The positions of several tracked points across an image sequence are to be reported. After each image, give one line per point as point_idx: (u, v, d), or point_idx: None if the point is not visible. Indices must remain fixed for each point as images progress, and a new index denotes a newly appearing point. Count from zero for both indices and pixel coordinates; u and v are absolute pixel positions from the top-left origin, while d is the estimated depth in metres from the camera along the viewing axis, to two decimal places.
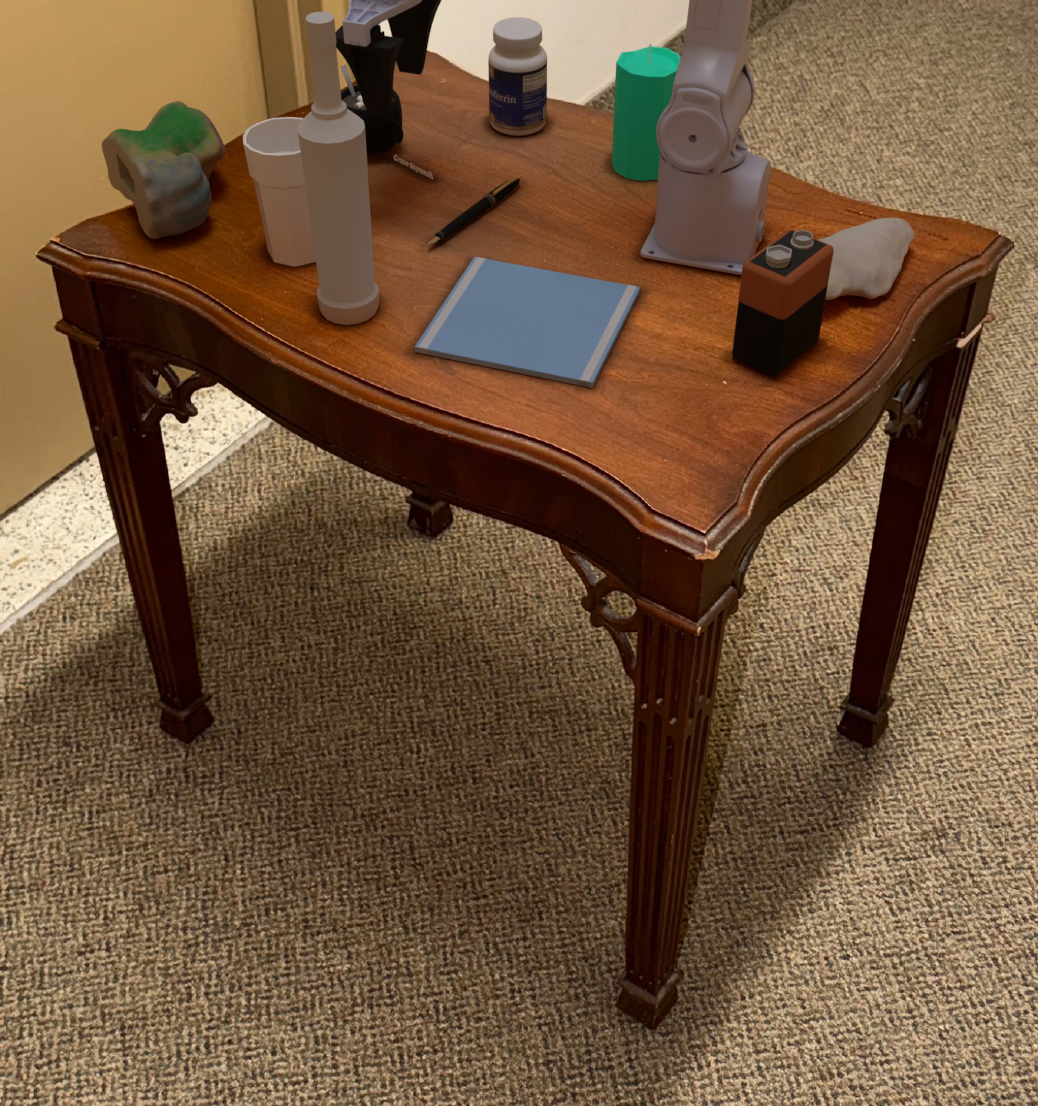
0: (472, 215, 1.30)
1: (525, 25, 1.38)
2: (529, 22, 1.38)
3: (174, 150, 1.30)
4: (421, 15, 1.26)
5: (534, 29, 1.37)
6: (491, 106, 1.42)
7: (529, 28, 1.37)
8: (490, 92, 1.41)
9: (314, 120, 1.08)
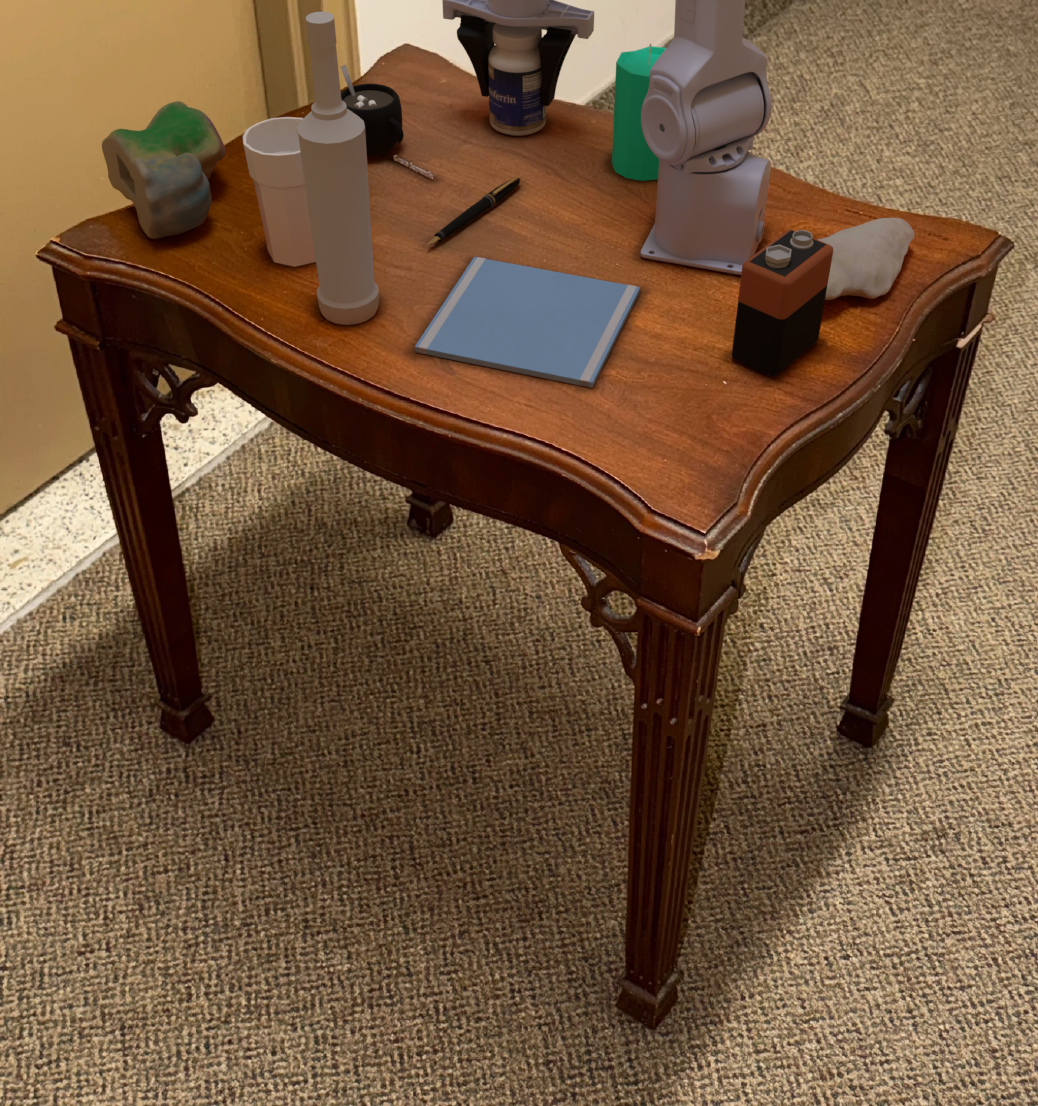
0: (472, 215, 1.30)
1: None
2: None
3: (174, 150, 1.30)
4: None
5: (534, 29, 1.37)
6: (491, 106, 1.42)
7: (529, 28, 1.37)
8: (490, 92, 1.41)
9: (314, 120, 1.08)
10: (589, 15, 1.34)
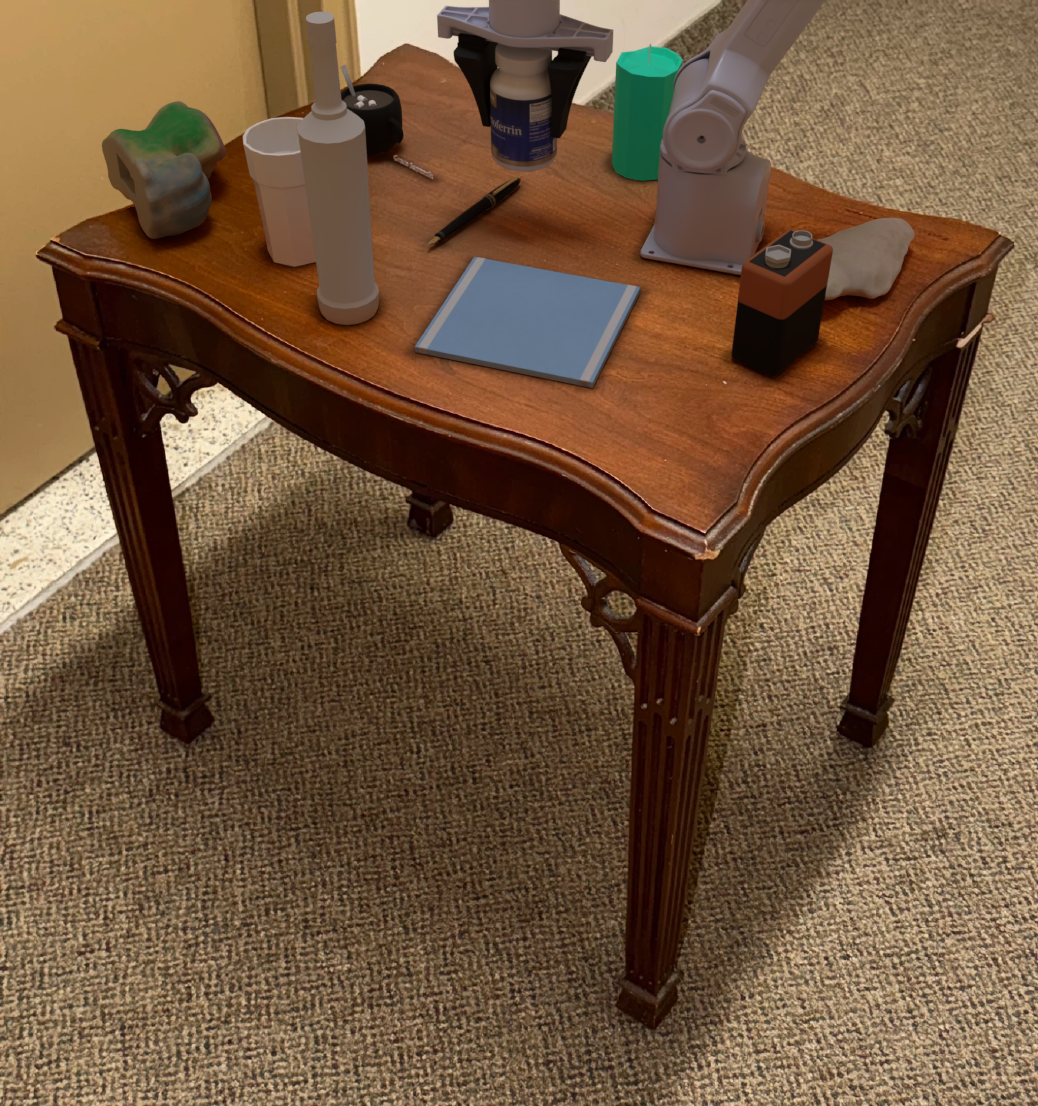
0: (472, 215, 1.30)
1: None
2: None
3: (174, 150, 1.30)
4: None
5: (543, 50, 1.18)
6: (493, 138, 1.23)
7: (537, 49, 1.18)
8: (492, 122, 1.22)
9: (314, 120, 1.08)
10: (607, 34, 1.15)
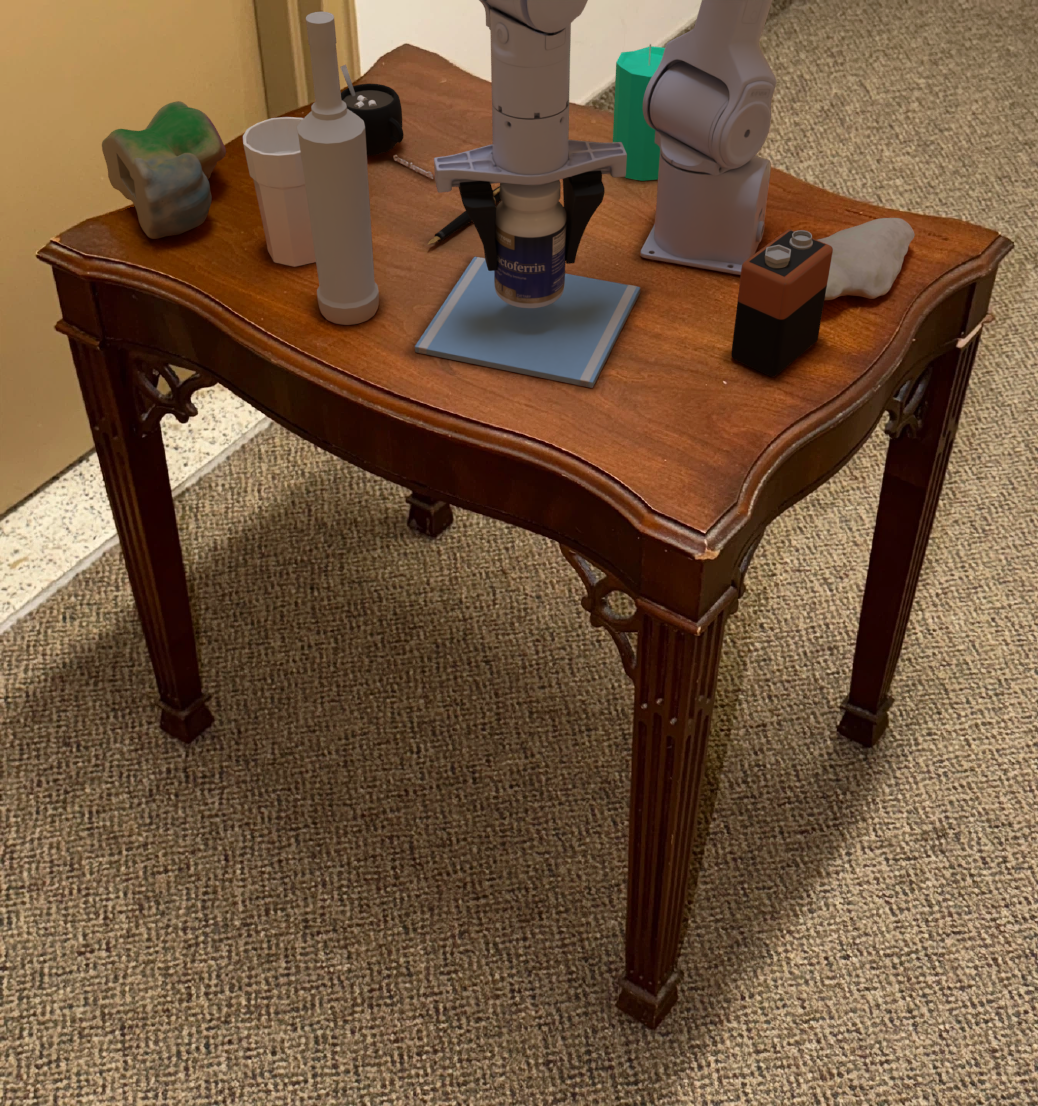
0: None
1: None
2: None
3: (174, 150, 1.30)
4: (571, 205, 1.11)
5: None
6: (507, 280, 1.14)
7: None
8: (505, 265, 1.13)
9: (314, 120, 1.08)
10: (622, 148, 1.10)
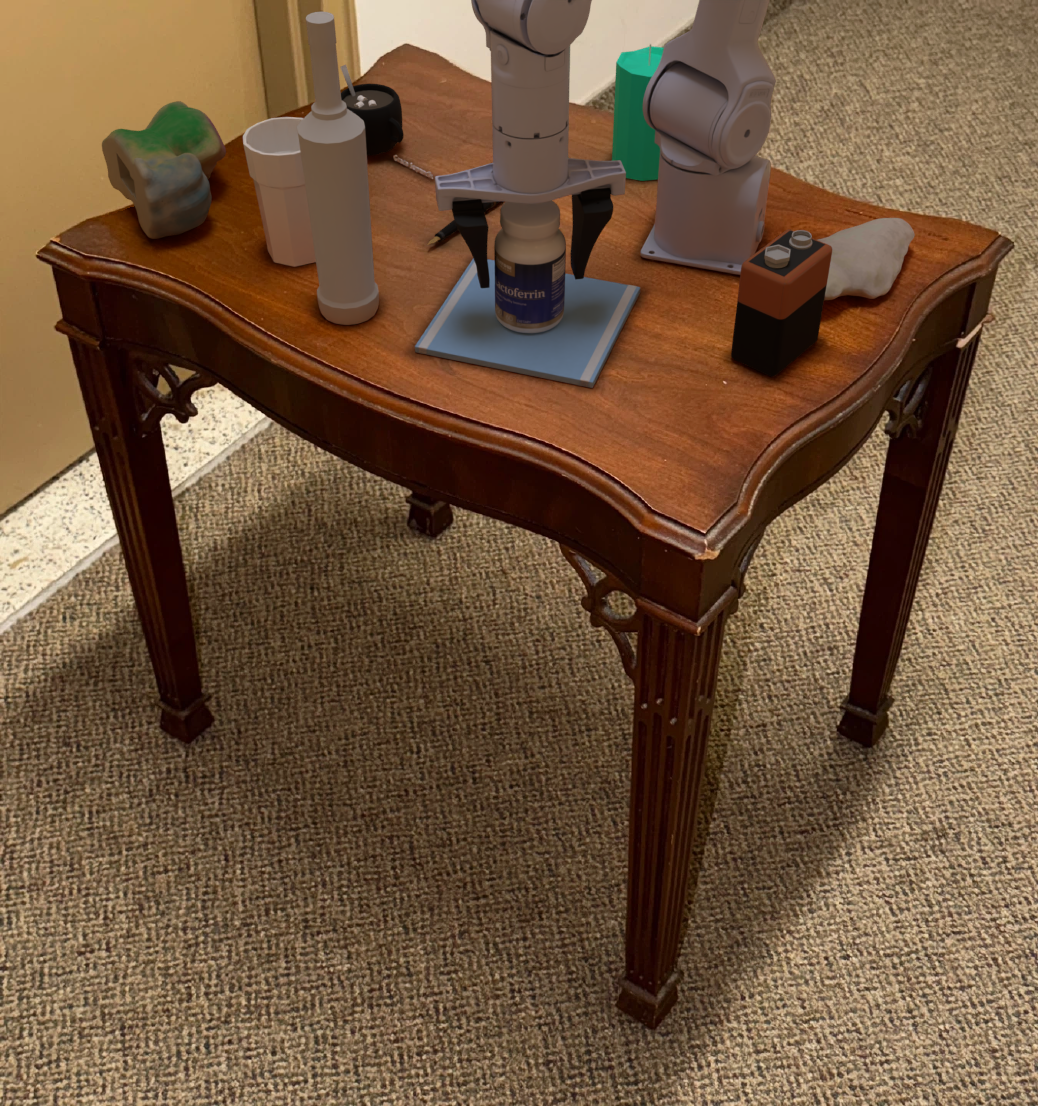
0: None
1: (535, 205, 1.13)
2: None
3: (174, 150, 1.30)
4: (580, 222, 1.12)
5: (550, 207, 1.13)
6: (508, 306, 1.16)
7: (543, 207, 1.13)
8: (505, 291, 1.15)
9: (314, 120, 1.08)
10: (621, 167, 1.11)
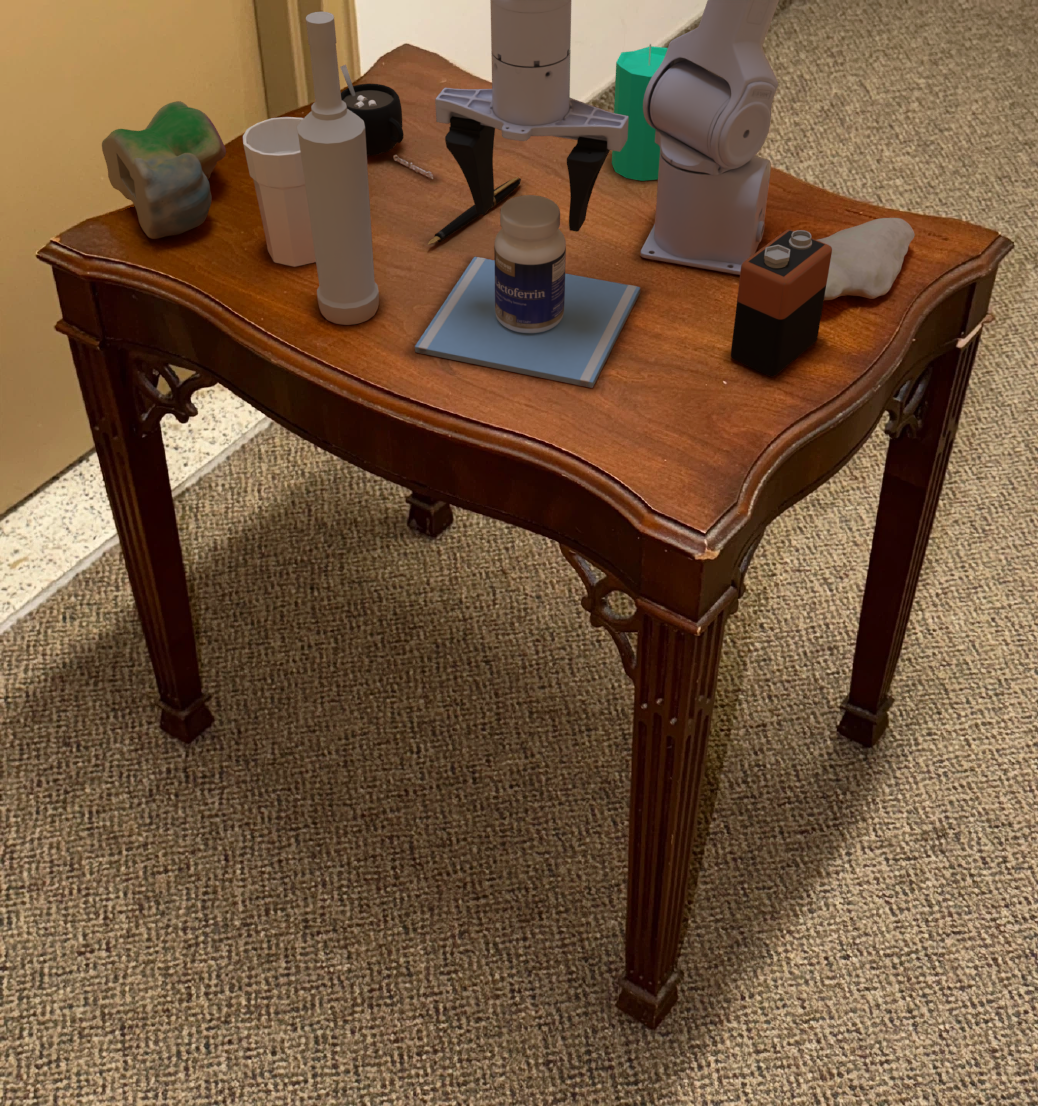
0: (472, 215, 1.30)
1: (535, 205, 1.13)
2: (536, 200, 1.13)
3: (174, 150, 1.30)
4: (491, 137, 1.11)
5: (550, 207, 1.13)
6: (508, 306, 1.16)
7: (543, 207, 1.13)
8: (505, 291, 1.15)
9: (314, 120, 1.08)
10: (442, 92, 1.09)
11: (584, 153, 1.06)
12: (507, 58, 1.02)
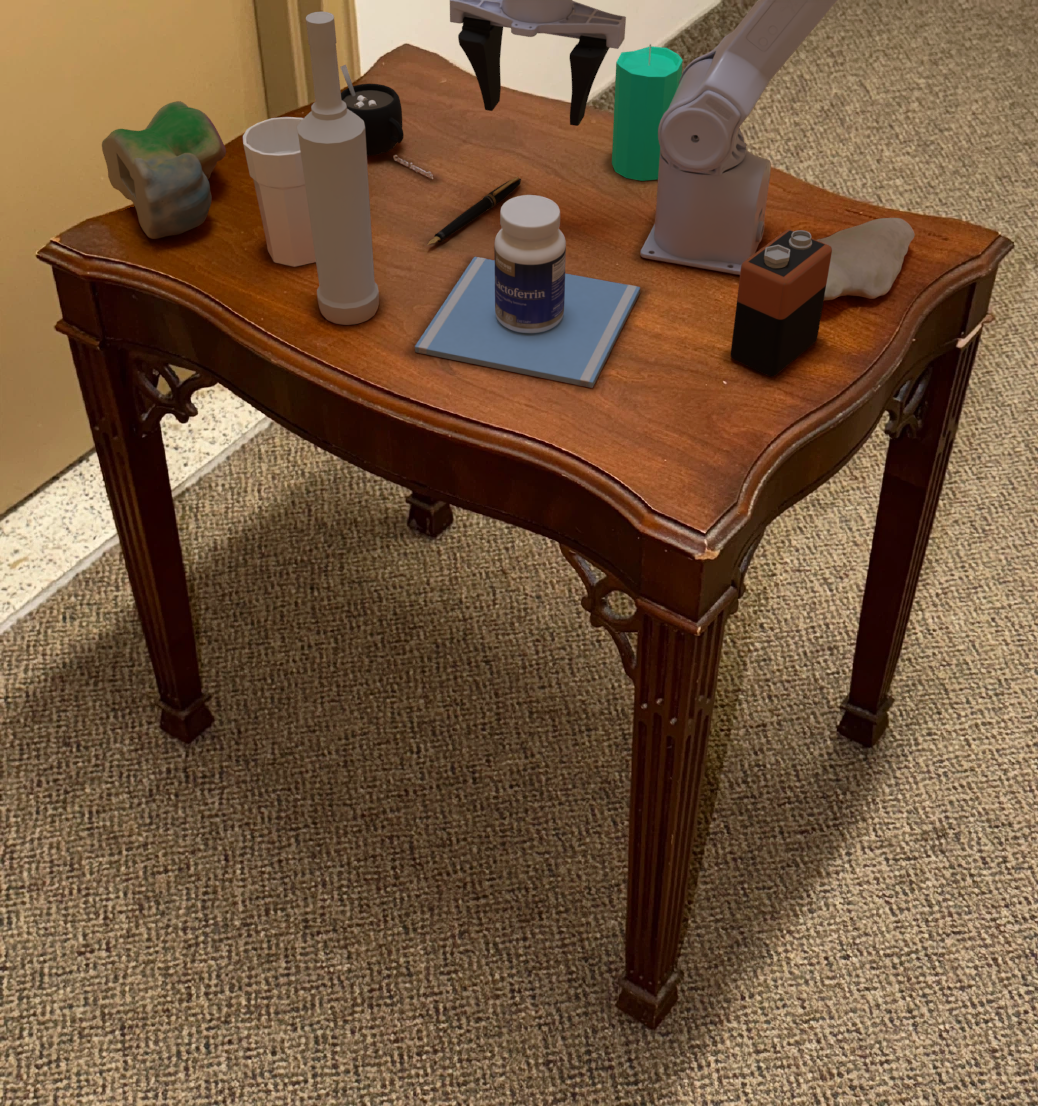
0: (472, 215, 1.30)
1: (535, 205, 1.13)
2: (536, 200, 1.13)
3: (174, 150, 1.30)
4: (499, 38, 1.22)
5: (550, 207, 1.13)
6: (508, 306, 1.16)
7: (543, 207, 1.13)
8: (505, 291, 1.15)
9: (314, 120, 1.08)
10: None
11: (585, 50, 1.17)
12: None
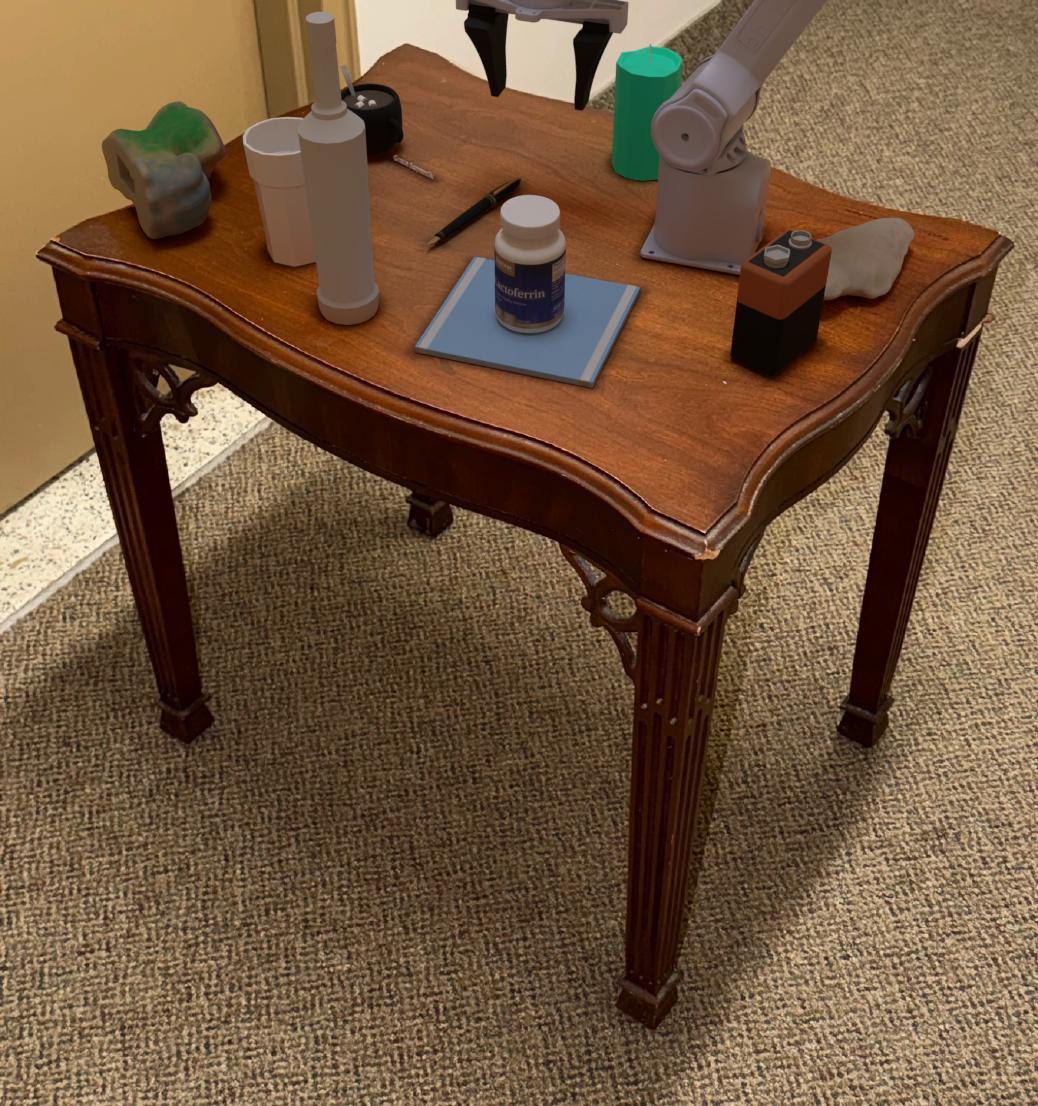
0: (472, 215, 1.30)
1: (535, 205, 1.13)
2: (536, 200, 1.13)
3: (174, 150, 1.30)
4: (504, 25, 1.24)
5: (550, 207, 1.13)
6: (508, 306, 1.16)
7: (543, 207, 1.13)
8: (505, 291, 1.15)
9: (314, 120, 1.08)
10: None
11: (589, 35, 1.19)
12: None
